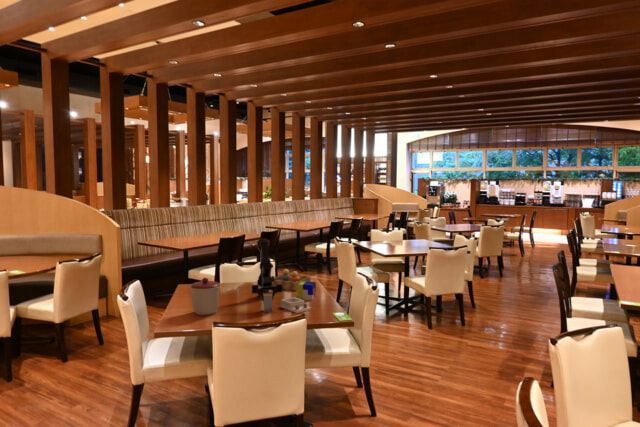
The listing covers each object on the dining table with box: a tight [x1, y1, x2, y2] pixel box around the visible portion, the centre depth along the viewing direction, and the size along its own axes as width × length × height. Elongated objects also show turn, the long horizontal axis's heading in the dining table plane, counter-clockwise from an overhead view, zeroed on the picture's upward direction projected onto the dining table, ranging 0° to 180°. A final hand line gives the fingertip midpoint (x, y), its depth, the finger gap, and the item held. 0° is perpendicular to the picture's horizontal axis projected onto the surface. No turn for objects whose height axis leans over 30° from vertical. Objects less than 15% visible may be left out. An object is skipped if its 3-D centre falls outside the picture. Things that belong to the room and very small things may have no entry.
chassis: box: [280, 296, 312, 314], centre depth 273 cm, size 17×11×4 cm, turn 39°
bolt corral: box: [272, 273, 312, 292], centre depth 333 cm, size 23×24×6 cm
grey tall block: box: [262, 291, 273, 313], centre depth 267 cm, size 5×5×11 cm
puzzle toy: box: [297, 281, 317, 301], centre depth 299 cm, size 10×10×10 cm
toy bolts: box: [281, 268, 300, 282], centre depth 334 cm, size 18×17×12 cm
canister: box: [188, 277, 222, 316], centre depth 261 cm, size 18×18×21 cm
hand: (267, 300), depth 265 cm, fingers open, 5 cm apart
